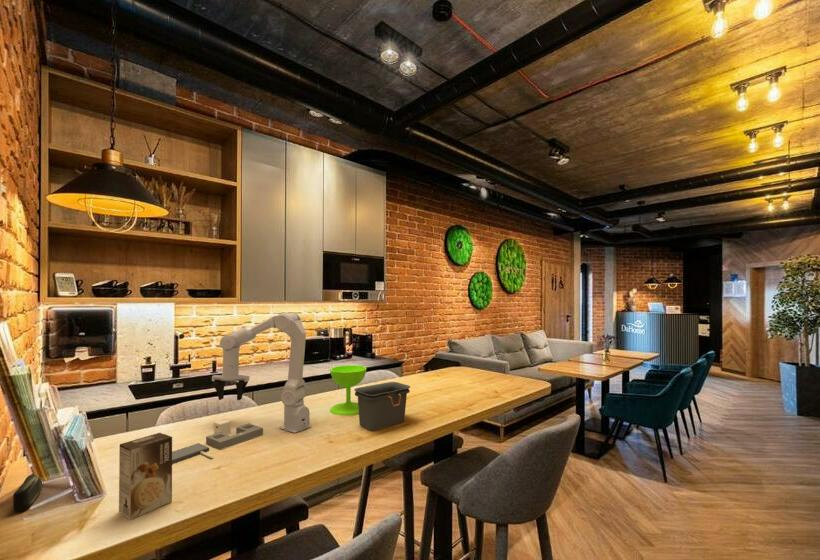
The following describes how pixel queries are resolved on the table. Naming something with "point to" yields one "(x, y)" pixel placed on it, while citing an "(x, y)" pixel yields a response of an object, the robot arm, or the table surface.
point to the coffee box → (145, 474)
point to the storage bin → (381, 404)
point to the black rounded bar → (27, 492)
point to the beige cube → (222, 427)
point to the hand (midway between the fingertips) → (230, 399)
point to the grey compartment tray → (234, 436)
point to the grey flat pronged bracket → (190, 452)
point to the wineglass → (347, 387)
